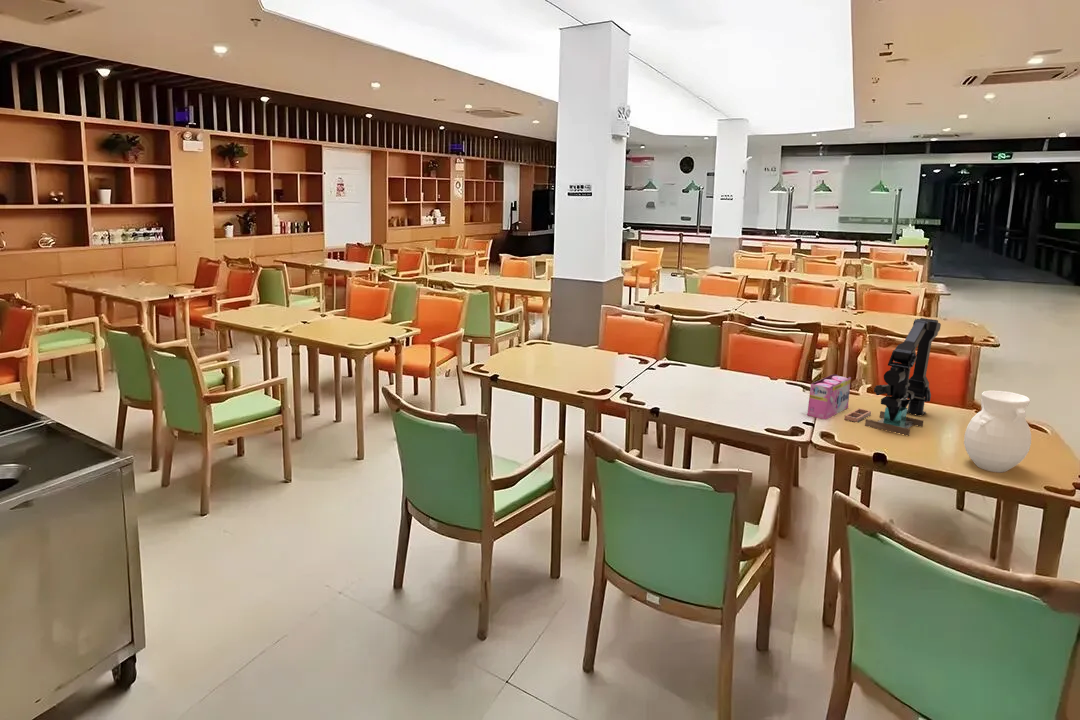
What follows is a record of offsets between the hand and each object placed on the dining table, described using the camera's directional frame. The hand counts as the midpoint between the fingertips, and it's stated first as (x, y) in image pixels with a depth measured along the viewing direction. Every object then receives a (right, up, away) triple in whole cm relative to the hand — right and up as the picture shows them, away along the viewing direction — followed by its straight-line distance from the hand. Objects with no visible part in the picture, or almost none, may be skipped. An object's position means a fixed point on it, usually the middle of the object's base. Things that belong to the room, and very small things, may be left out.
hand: (894, 418), depth 273 cm
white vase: (+13, -13, -38) cm, 43 cm away
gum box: (-19, +1, +18) cm, 26 cm away
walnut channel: (0, -3, +1) cm, 3 cm away
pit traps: (-10, 0, +10) cm, 14 cm away
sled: (0, -3, +1) cm, 3 cm away
